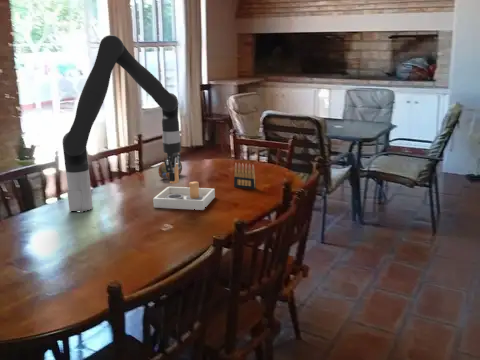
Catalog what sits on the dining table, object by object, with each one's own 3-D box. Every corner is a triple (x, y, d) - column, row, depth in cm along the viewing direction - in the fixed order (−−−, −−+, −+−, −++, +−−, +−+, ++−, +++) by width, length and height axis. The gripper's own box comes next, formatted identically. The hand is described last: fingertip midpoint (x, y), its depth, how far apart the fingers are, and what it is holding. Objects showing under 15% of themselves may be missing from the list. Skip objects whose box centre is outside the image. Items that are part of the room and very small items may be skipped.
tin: (162, 180, 272) (161, 164, 270) (157, 180, 274) (156, 163, 272) (182, 174, 283) (182, 158, 281) (178, 173, 285) (177, 157, 283)
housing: (203, 210, 226) (202, 189, 224) (153, 207, 231) (152, 187, 229) (214, 197, 243) (214, 177, 241) (168, 195, 248) (167, 176, 246)
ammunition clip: (256, 188, 255) (255, 163, 252) (254, 189, 254) (254, 164, 251) (235, 185, 260) (235, 161, 257) (234, 186, 258) (233, 162, 255)
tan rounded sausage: (177, 183, 234) (176, 165, 232) (168, 183, 235) (167, 165, 232) (180, 181, 238) (179, 163, 235) (171, 180, 238) (170, 163, 236)
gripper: (169, 137, 239) (171, 175, 243) (157, 144, 225) (160, 184, 230) (185, 137, 237) (187, 175, 242) (174, 144, 224) (176, 184, 228)
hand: (174, 179), depth 236 cm, fingers closed on tan rounded sausage, 4 cm apart
